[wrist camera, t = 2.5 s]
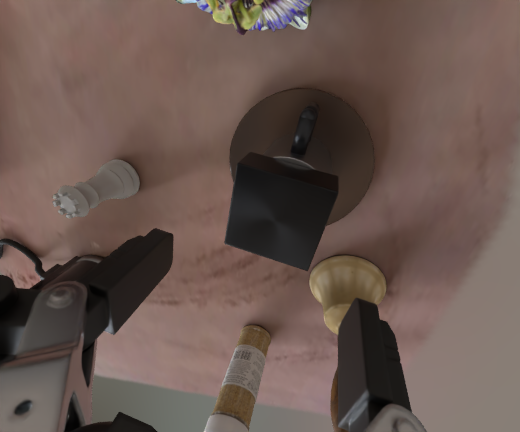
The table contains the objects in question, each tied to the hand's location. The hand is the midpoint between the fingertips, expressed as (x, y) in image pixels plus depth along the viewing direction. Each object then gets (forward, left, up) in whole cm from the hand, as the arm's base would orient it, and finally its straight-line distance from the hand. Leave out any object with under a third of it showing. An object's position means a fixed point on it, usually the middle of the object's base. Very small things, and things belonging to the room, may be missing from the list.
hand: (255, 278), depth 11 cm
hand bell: (+9, -12, -16) cm, 22 cm away
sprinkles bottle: (+1, -26, -16) cm, 31 cm away
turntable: (0, 0, -16) cm, 16 cm away
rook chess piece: (-19, -7, -16) cm, 26 cm away
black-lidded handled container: (0, +1, -15) cm, 15 cm away
